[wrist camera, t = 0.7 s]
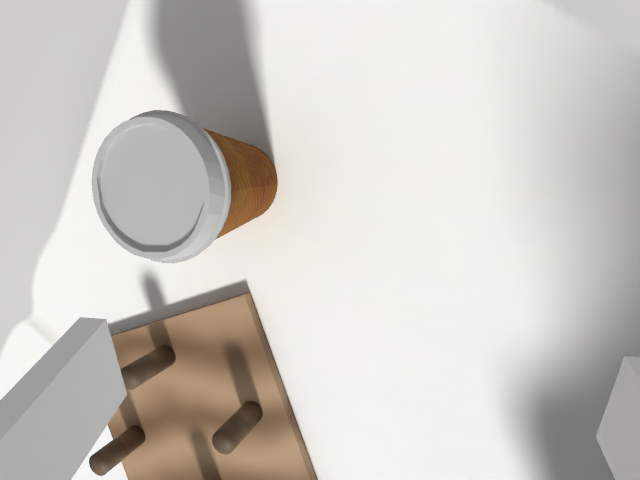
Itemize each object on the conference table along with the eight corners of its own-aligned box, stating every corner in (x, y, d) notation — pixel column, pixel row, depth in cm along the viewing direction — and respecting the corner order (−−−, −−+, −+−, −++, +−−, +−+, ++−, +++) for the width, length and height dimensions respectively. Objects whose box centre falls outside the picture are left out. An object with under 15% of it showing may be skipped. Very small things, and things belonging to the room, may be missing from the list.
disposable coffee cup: (314, 212, 38) (242, 232, 27) (221, 254, 42) (123, 287, 30) (267, 103, 38) (176, 78, 27) (178, 154, 41) (63, 150, 30)
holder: (326, 505, 42) (301, 558, 36) (154, 524, 49) (111, 570, 43) (249, 292, 41) (212, 312, 36) (86, 343, 48) (33, 366, 43)
